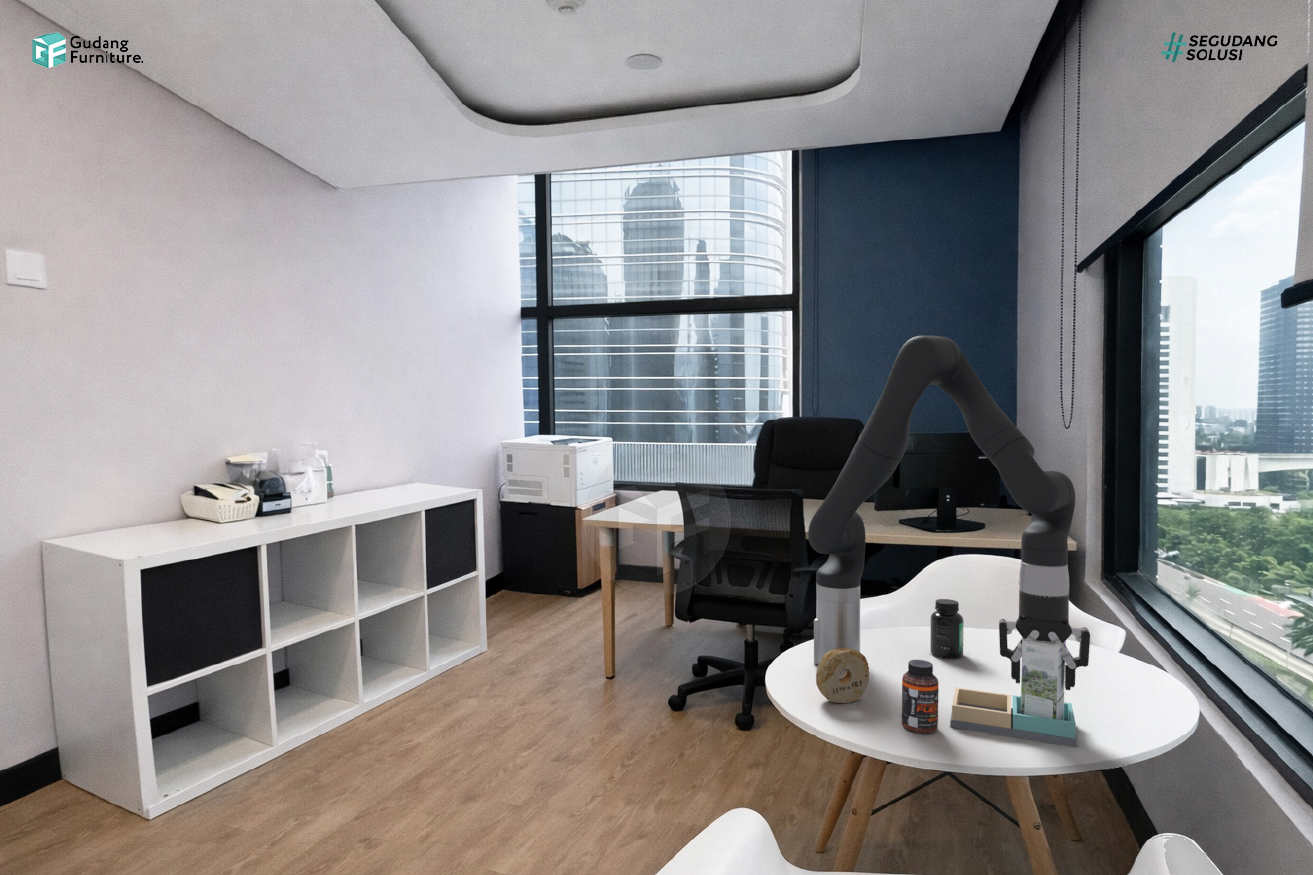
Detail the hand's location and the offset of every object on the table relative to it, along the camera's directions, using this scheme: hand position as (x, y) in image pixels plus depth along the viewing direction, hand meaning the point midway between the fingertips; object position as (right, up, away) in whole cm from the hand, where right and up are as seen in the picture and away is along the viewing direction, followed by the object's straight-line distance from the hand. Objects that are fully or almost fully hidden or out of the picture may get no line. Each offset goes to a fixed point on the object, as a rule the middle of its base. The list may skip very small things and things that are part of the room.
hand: (1042, 685), depth 129 cm
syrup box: (0, -7, 0) cm, 7 cm away
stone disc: (-31, -8, +14) cm, 35 cm away
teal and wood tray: (-4, -8, +2) cm, 9 cm away
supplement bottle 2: (-1, -7, +40) cm, 40 cm away
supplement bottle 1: (-20, -8, +2) cm, 22 cm away
